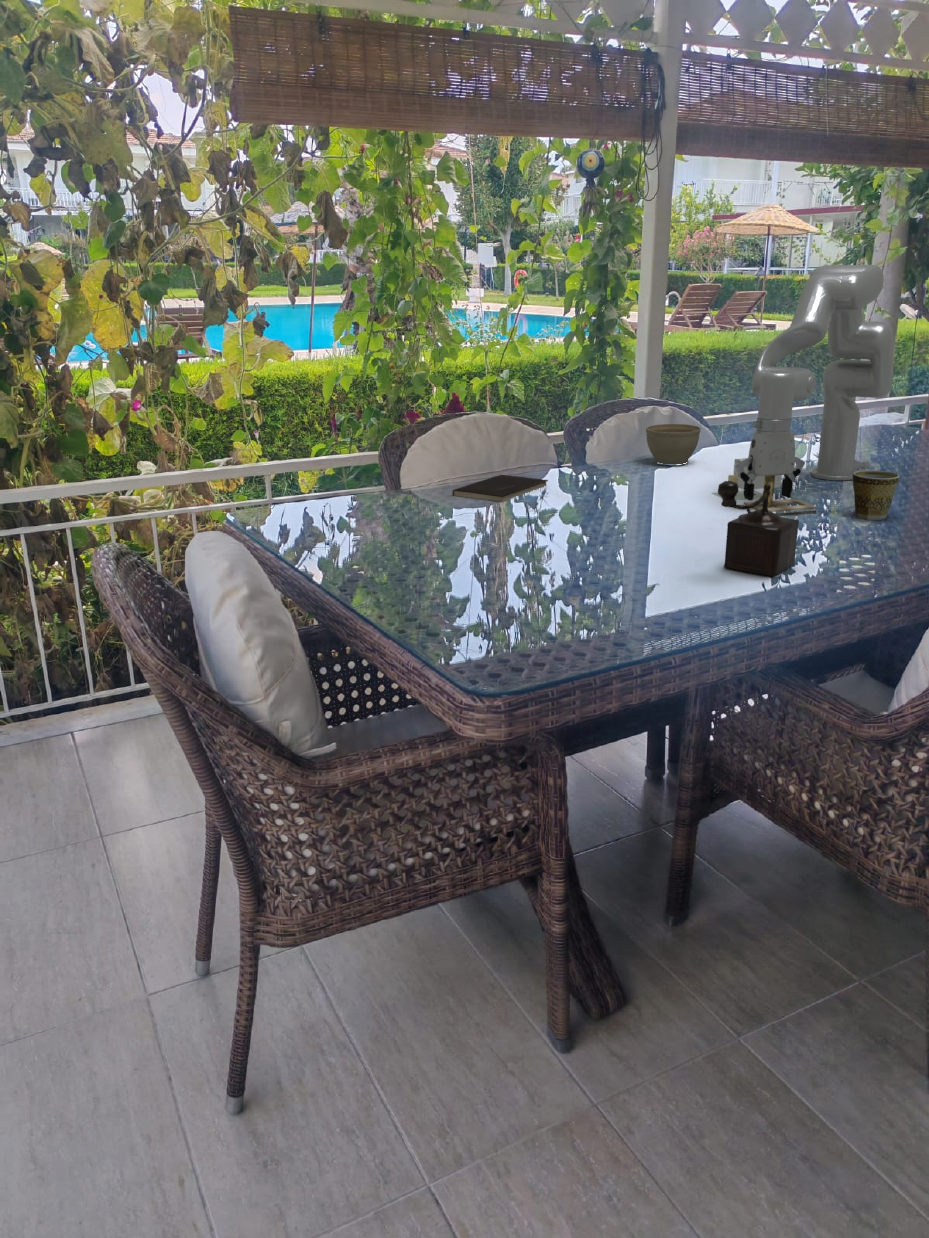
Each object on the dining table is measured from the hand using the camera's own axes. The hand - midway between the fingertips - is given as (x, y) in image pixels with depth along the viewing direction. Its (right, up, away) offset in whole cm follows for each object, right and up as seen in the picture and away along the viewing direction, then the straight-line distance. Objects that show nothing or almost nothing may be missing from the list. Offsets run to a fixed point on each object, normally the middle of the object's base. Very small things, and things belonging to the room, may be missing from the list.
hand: (767, 497), depth 225 cm
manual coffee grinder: (-17, -20, -42) cm, 49 cm away
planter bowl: (-9, +18, +62) cm, 65 cm away
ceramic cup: (+23, -5, -4) cm, 24 cm away
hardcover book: (-63, +5, +31) cm, 70 cm away
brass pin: (0, -3, +1) cm, 4 cm away
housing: (+5, +5, +24) cm, 25 cm away
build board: (+3, -3, +2) cm, 5 cm away
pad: (-2, +1, +14) cm, 14 cm away
